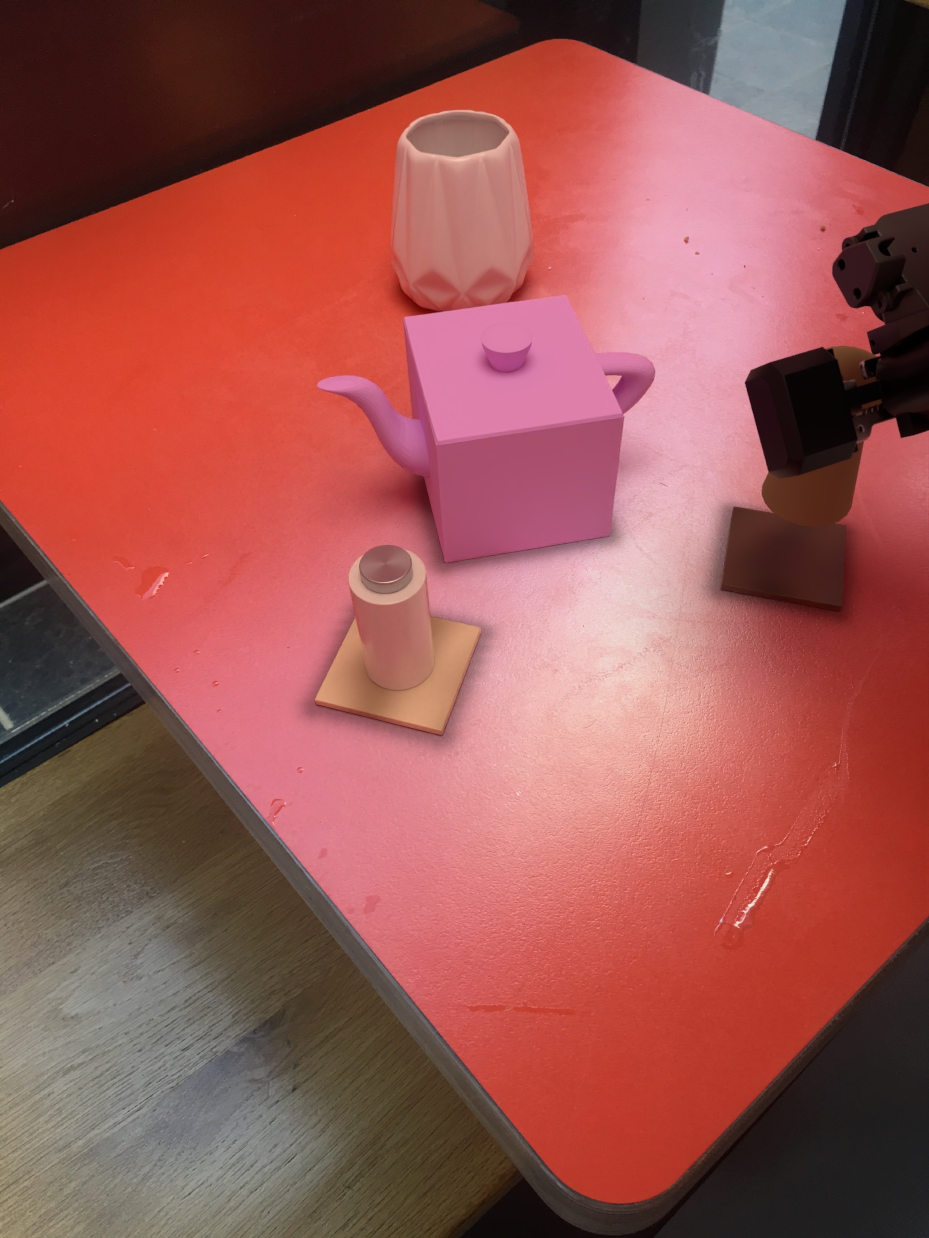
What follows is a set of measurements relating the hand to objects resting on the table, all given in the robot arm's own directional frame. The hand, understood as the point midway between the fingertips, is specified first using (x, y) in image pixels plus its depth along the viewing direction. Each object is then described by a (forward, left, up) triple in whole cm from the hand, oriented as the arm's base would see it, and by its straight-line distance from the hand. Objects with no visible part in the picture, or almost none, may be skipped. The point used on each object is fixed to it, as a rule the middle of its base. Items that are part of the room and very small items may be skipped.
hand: (818, 407), depth 60 cm
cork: (-1, +1, -7) cm, 7 cm away
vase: (+40, -19, -13) cm, 46 cm away
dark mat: (-1, +1, -13) cm, 13 cm away
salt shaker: (+18, +24, -13) cm, 32 cm away
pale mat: (+18, +24, -13) cm, 33 cm away
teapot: (+22, +5, -13) cm, 26 cm away
